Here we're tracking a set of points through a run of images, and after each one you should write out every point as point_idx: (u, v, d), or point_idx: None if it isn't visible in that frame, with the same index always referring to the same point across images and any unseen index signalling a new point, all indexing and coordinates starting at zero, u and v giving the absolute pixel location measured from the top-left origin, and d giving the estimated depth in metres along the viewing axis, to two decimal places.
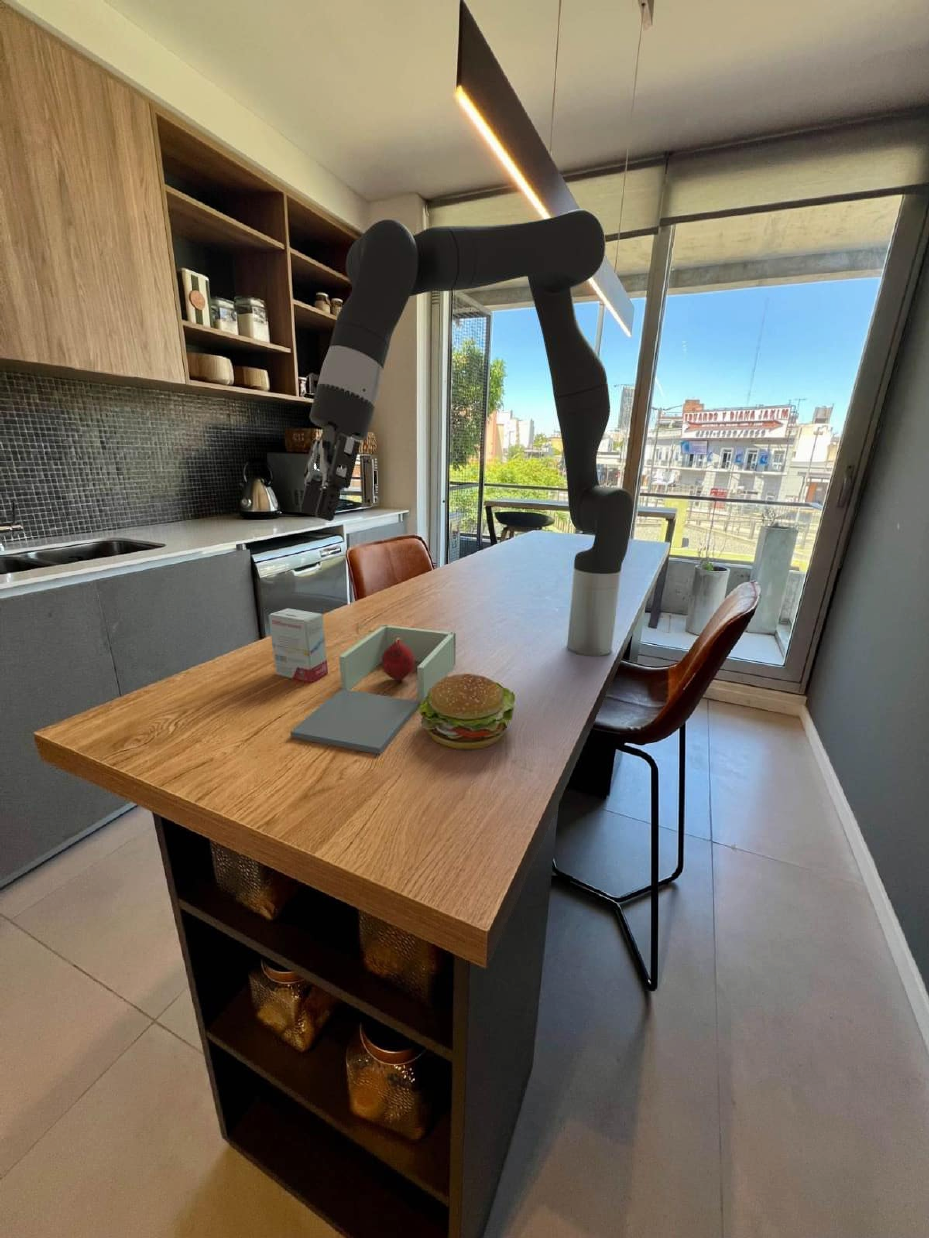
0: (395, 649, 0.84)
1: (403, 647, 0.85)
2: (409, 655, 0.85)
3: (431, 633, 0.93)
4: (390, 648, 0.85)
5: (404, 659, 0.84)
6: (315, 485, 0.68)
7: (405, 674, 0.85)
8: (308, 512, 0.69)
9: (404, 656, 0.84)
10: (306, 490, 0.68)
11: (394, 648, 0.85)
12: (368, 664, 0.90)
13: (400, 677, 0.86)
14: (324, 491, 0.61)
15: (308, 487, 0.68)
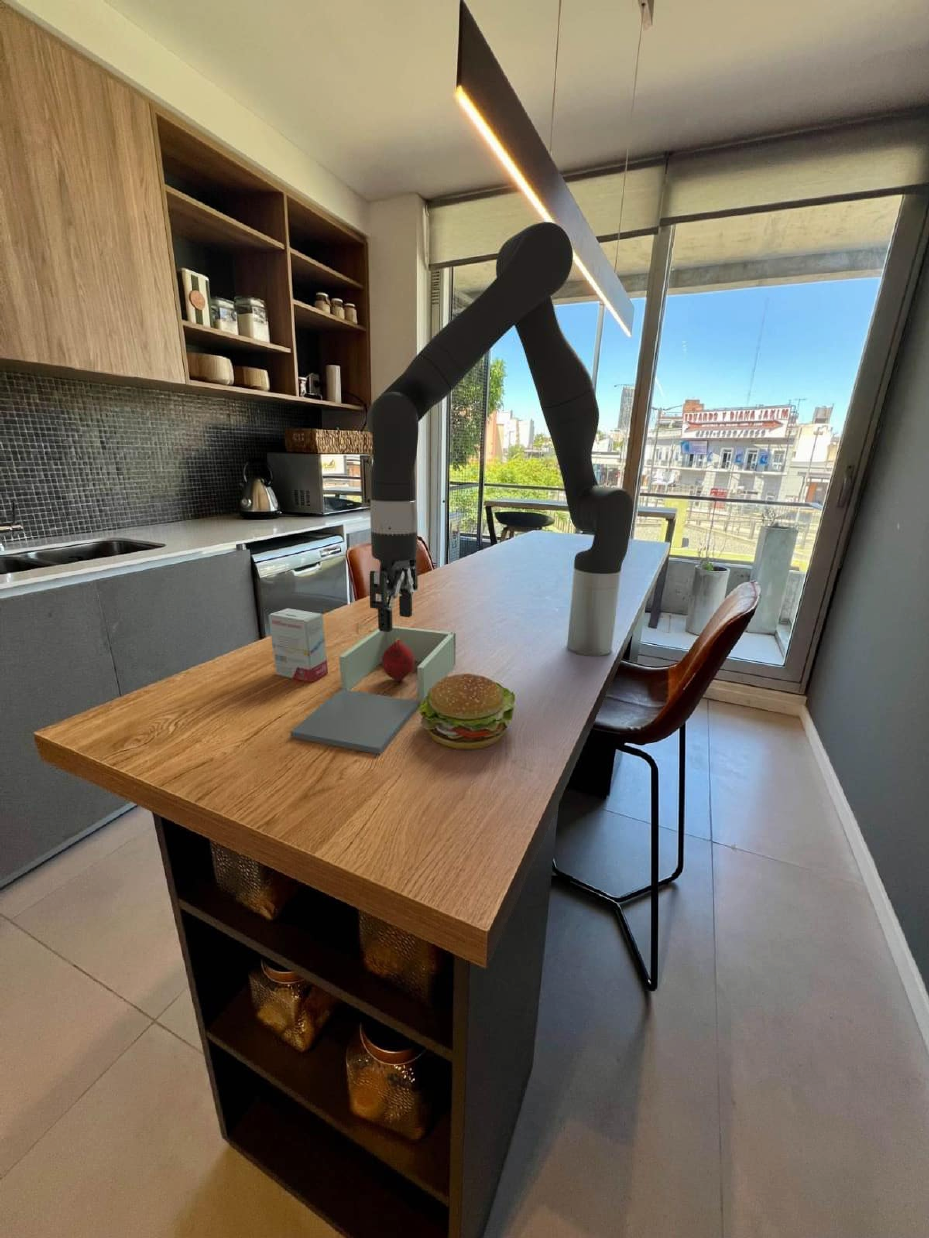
0: (395, 649, 0.84)
1: (403, 647, 0.85)
2: (409, 655, 0.85)
3: (431, 633, 0.93)
4: (390, 648, 0.85)
5: (404, 659, 0.84)
6: (405, 594, 0.87)
7: (405, 674, 0.85)
8: (405, 615, 0.88)
9: (404, 656, 0.84)
10: (399, 600, 0.87)
11: (394, 648, 0.85)
12: (368, 664, 0.90)
13: (400, 677, 0.86)
14: None
15: (400, 597, 0.87)
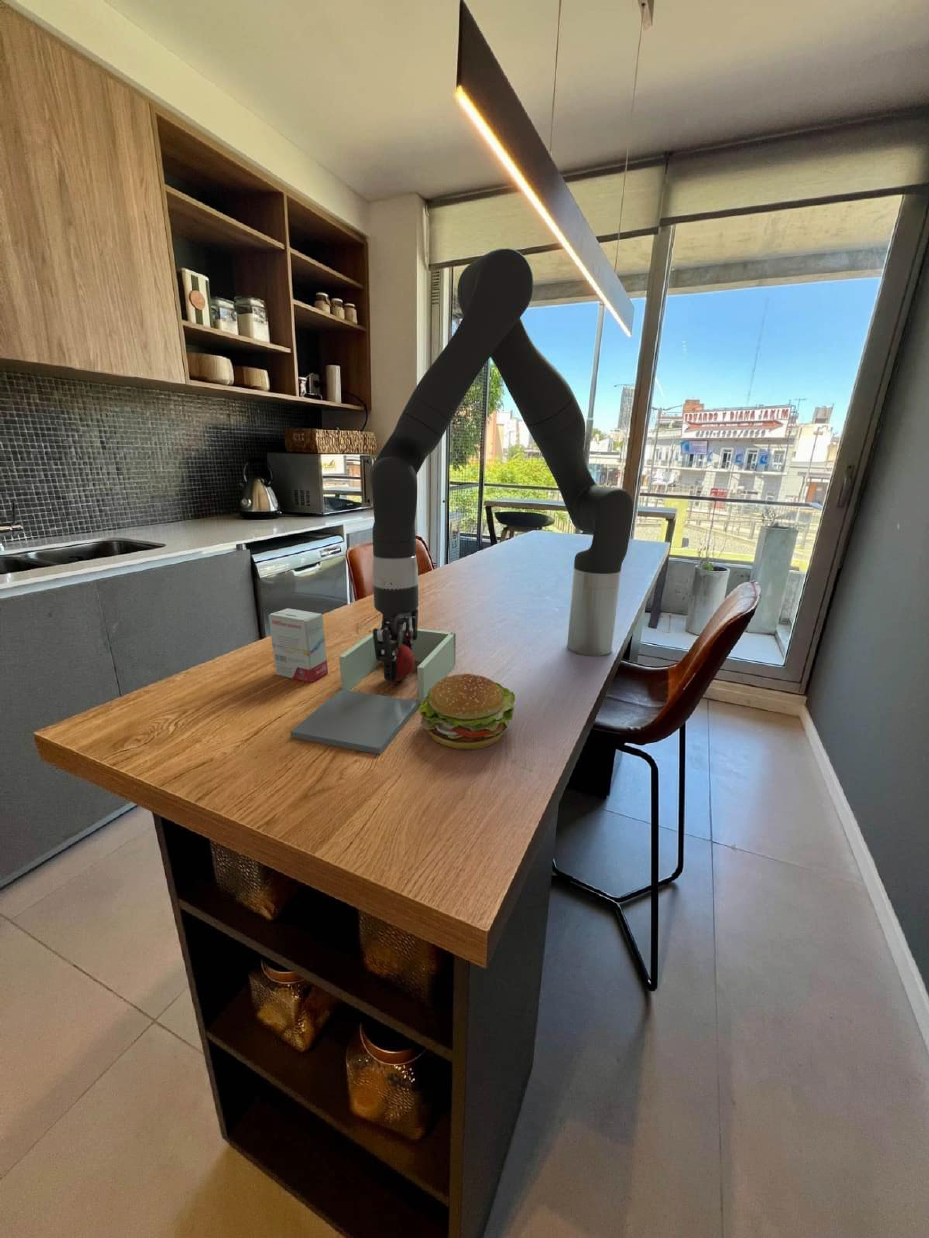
0: None
1: (403, 647, 0.85)
2: (409, 655, 0.85)
3: (431, 633, 0.93)
4: None
5: (404, 659, 0.84)
6: None
7: (405, 674, 0.85)
8: None
9: (404, 656, 0.84)
10: None
11: None
12: (368, 664, 0.90)
13: (400, 677, 0.86)
14: None
15: None
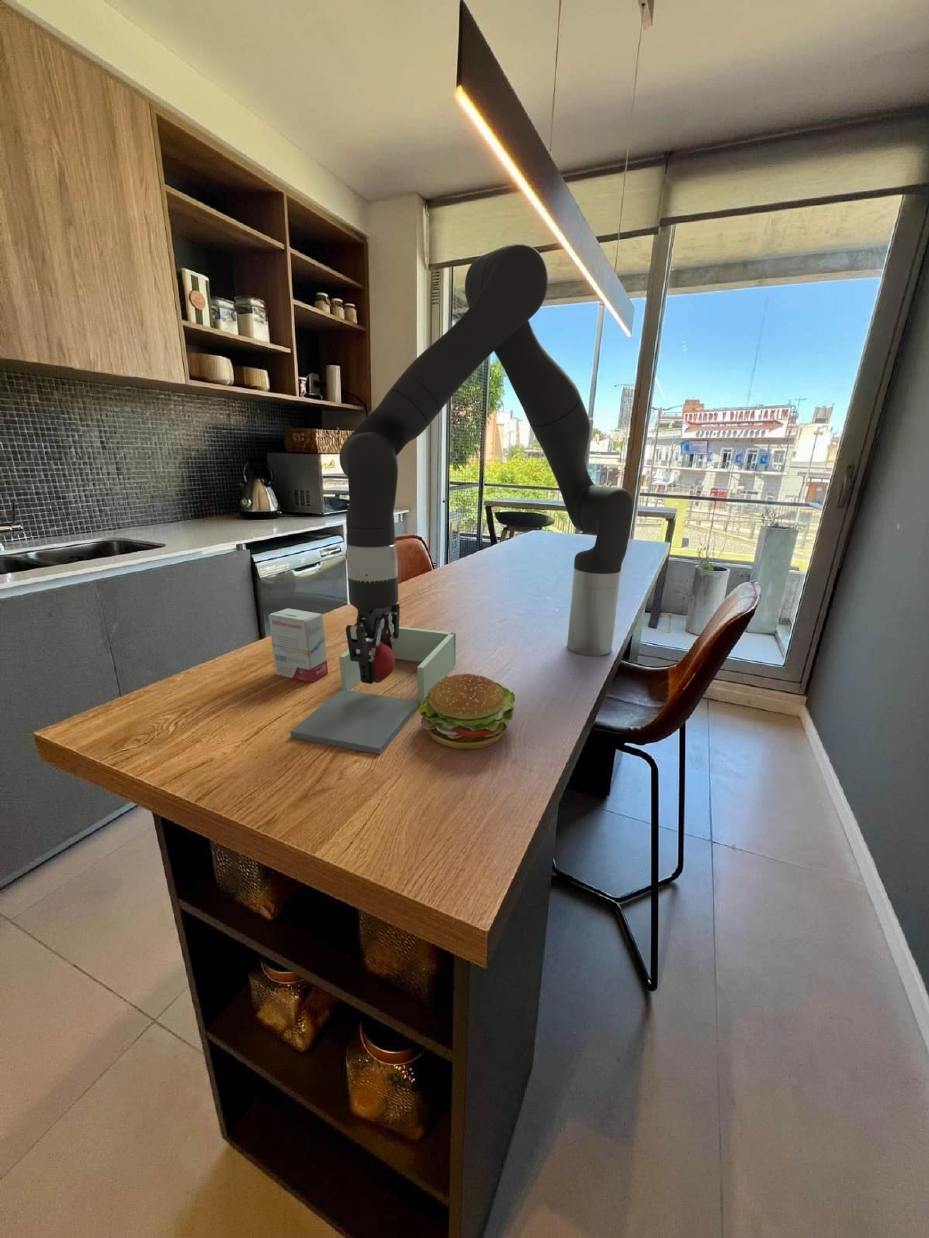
0: None
1: (382, 646, 0.77)
2: (388, 655, 0.77)
3: (431, 633, 0.93)
4: (367, 647, 0.77)
5: (383, 659, 0.76)
6: None
7: (384, 676, 0.77)
8: None
9: (383, 655, 0.76)
10: None
11: None
12: None
13: (378, 679, 0.78)
14: None
15: None
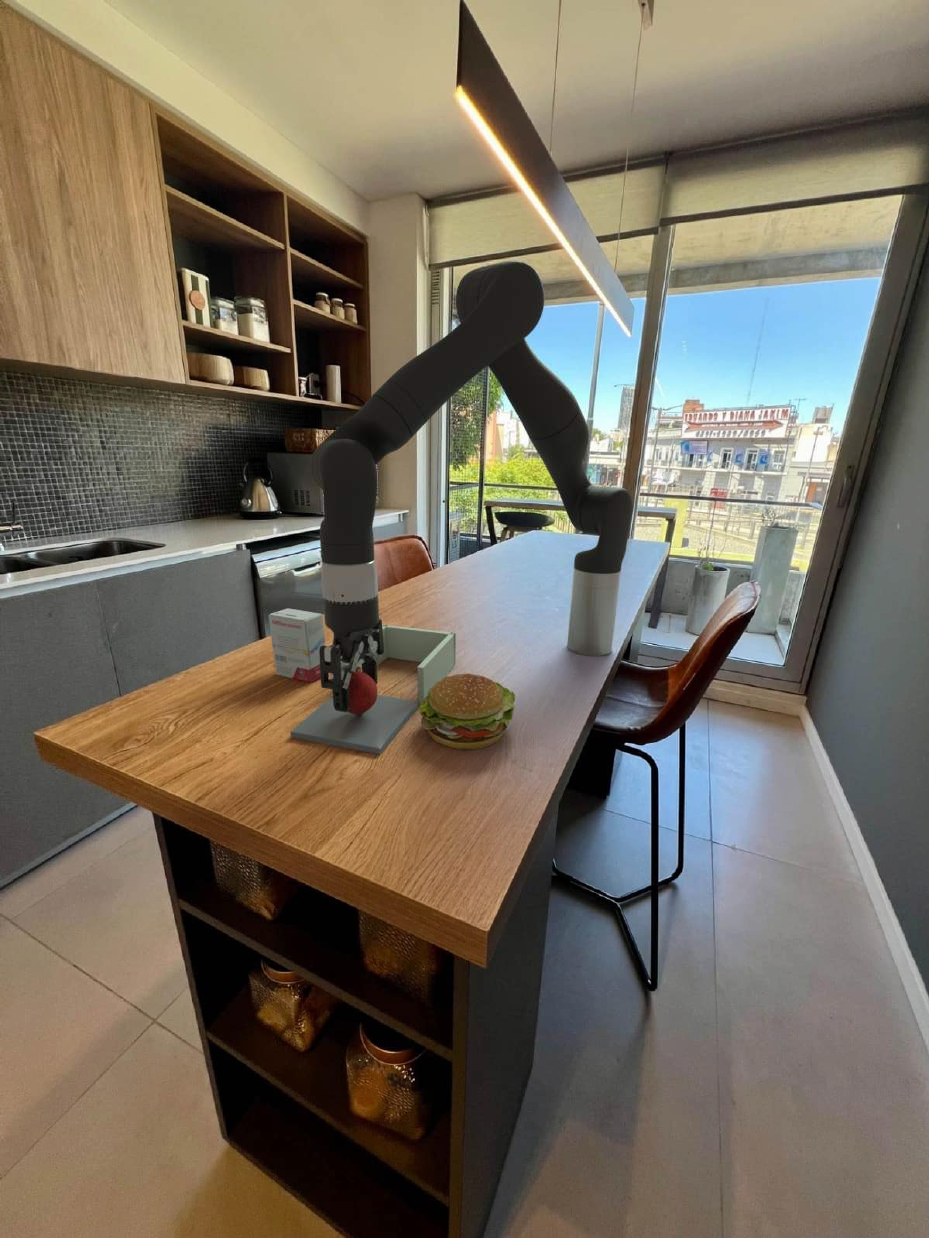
0: (353, 679, 0.70)
1: (363, 677, 0.71)
2: (369, 686, 0.71)
3: (431, 633, 0.93)
4: None
5: (363, 692, 0.70)
6: (368, 661, 0.75)
7: (365, 709, 0.71)
8: None
9: (364, 688, 0.70)
10: (362, 667, 0.76)
11: (351, 678, 0.71)
12: None
13: (359, 712, 0.72)
14: None
15: (363, 664, 0.76)
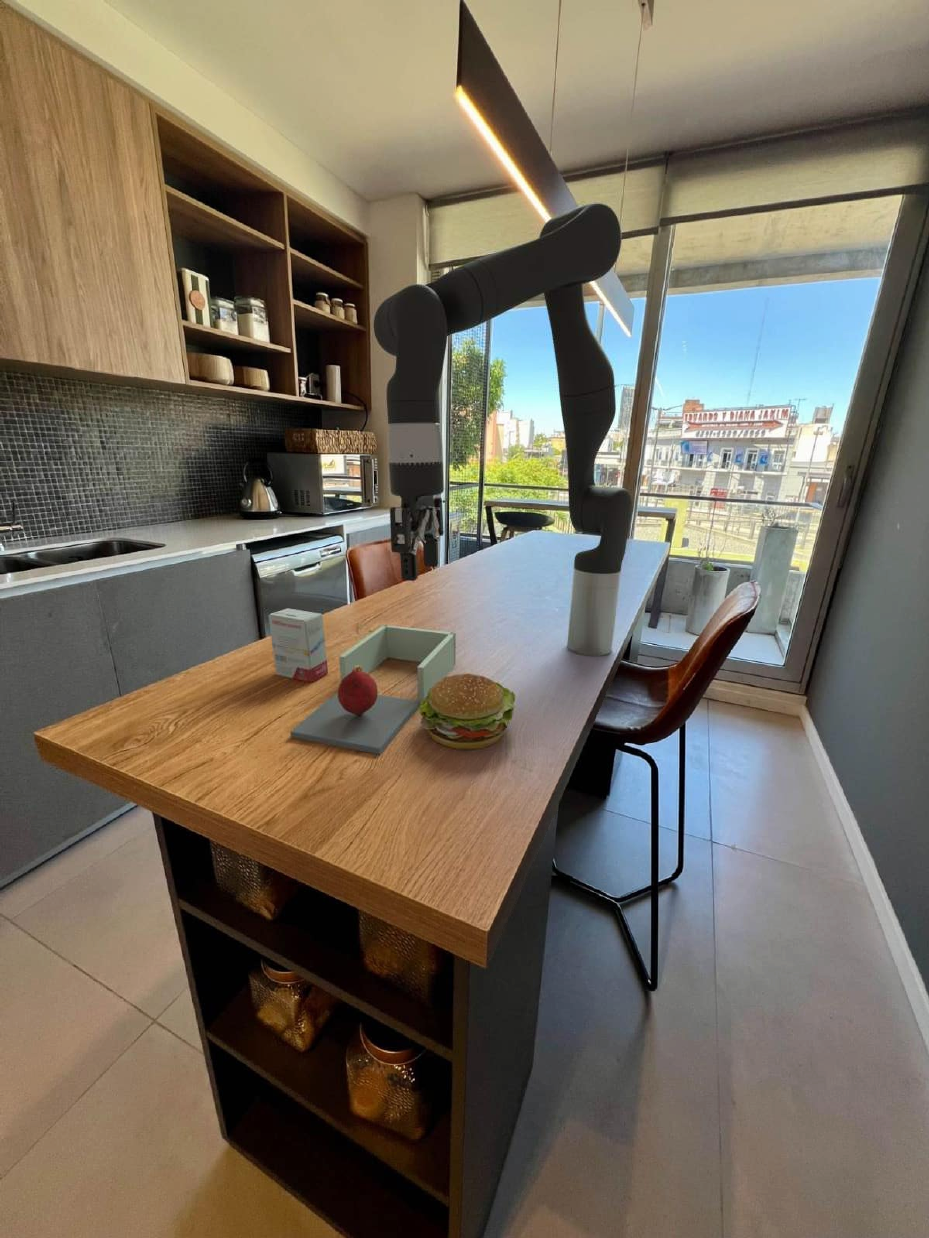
0: (353, 678, 0.71)
1: (363, 677, 0.71)
2: (369, 686, 0.71)
3: (431, 633, 0.93)
4: (347, 678, 0.71)
5: (364, 691, 0.70)
6: (430, 540, 0.75)
7: (365, 709, 0.72)
8: (430, 565, 0.77)
9: (364, 687, 0.71)
10: (423, 547, 0.76)
11: (352, 677, 0.71)
12: (368, 664, 0.90)
13: (359, 712, 0.72)
14: None
15: (424, 544, 0.76)
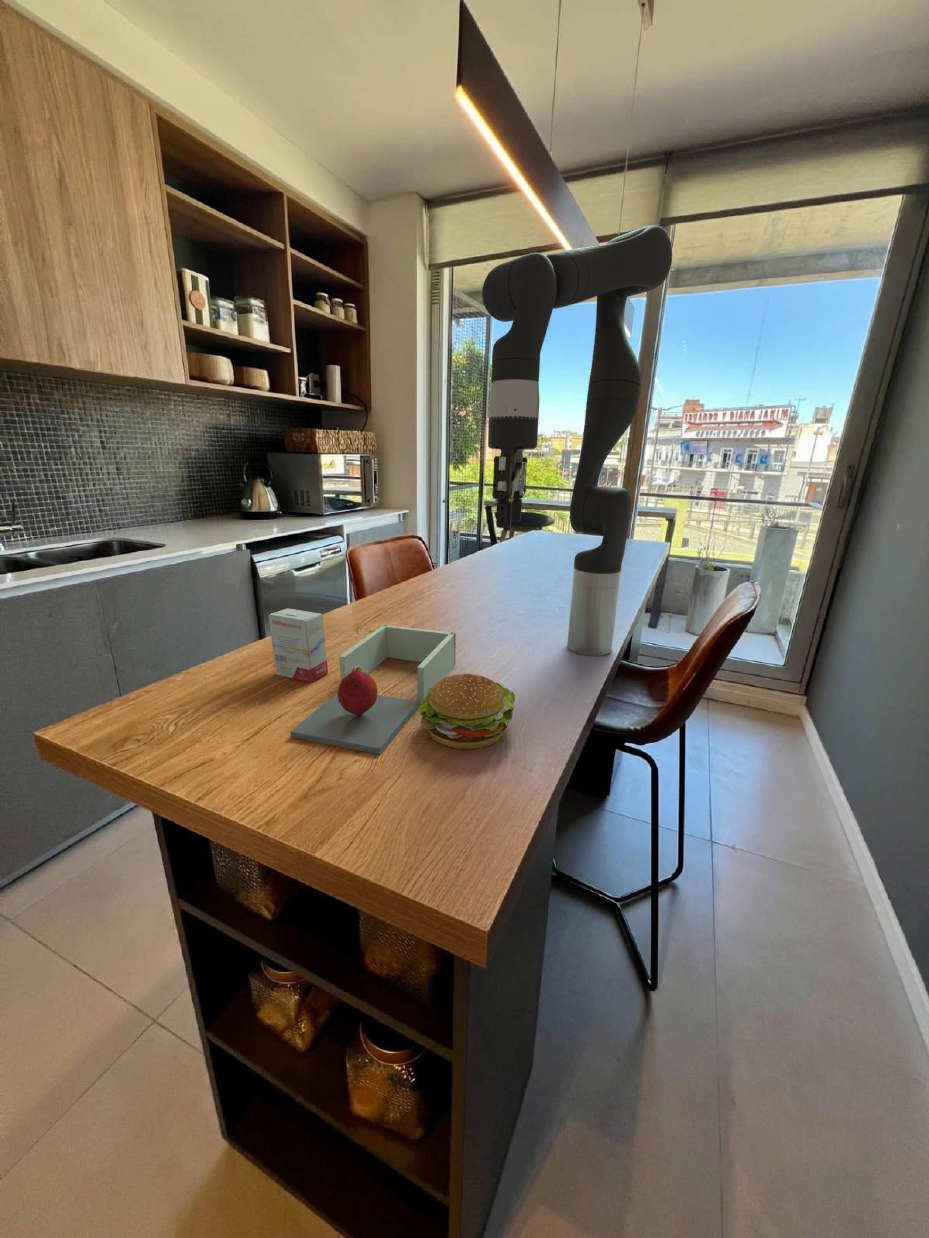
0: (353, 679, 0.71)
1: (363, 677, 0.71)
2: (369, 686, 0.71)
3: (431, 633, 0.93)
4: (347, 678, 0.71)
5: (364, 691, 0.70)
6: (515, 496, 0.81)
7: (365, 709, 0.72)
8: (514, 520, 0.82)
9: (364, 687, 0.71)
10: None
11: (351, 677, 0.71)
12: (368, 664, 0.90)
13: (359, 712, 0.72)
14: (498, 505, 0.74)
15: None
